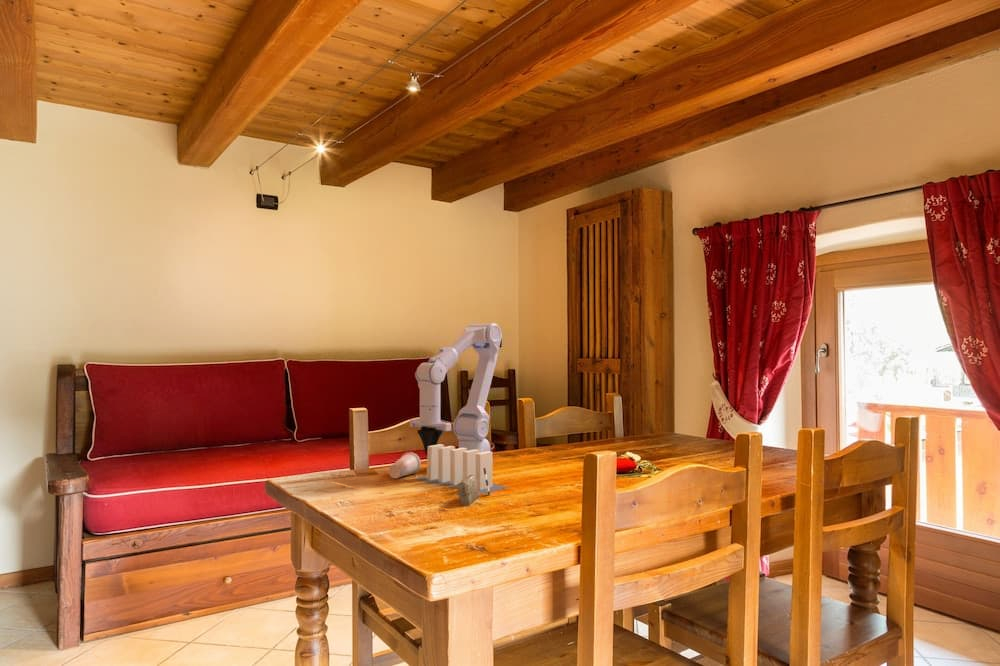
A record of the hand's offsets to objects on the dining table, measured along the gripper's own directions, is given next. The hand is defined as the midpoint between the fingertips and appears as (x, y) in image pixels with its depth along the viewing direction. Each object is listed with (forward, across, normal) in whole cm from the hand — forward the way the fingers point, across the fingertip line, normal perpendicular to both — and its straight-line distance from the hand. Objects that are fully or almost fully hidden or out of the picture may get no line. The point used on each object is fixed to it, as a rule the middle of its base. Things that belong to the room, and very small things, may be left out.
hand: (430, 454), depth 177 cm
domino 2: (+6, +6, 0) cm, 9 cm away
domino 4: (+6, +15, 0) cm, 17 cm away
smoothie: (+4, -5, -9) cm, 11 cm away
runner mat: (+7, +11, 0) cm, 13 cm away
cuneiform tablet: (+7, +26, -10) cm, 29 cm away
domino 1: (+6, +2, 0) cm, 6 cm away
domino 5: (+6, +20, 0) cm, 21 cm away
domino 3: (+6, +11, 0) cm, 13 cm away
